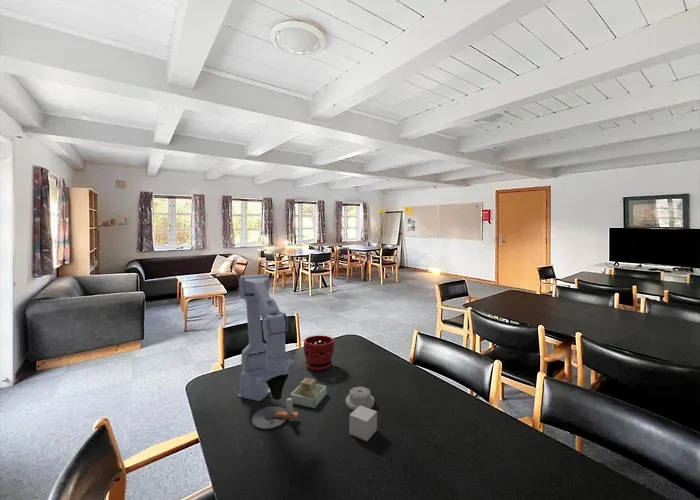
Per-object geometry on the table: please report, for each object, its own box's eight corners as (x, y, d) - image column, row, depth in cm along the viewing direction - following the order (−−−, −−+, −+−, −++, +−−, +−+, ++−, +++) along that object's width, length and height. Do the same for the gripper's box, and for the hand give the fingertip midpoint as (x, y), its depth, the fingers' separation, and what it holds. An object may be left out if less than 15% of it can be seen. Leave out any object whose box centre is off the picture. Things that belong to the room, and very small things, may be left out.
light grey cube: (349, 434, 94) (349, 414, 94) (359, 423, 99) (359, 405, 99) (366, 441, 91) (366, 421, 91) (376, 430, 96) (377, 411, 96)
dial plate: (244, 425, 99) (244, 422, 99) (265, 406, 109) (265, 403, 109) (275, 432, 95) (275, 429, 95) (294, 412, 105) (293, 409, 105)
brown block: (300, 399, 112) (300, 382, 112) (305, 393, 116) (305, 377, 116) (310, 401, 111) (310, 384, 110) (315, 395, 115) (315, 379, 114)
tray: (290, 402, 111) (289, 394, 111) (303, 389, 120) (303, 381, 120) (314, 408, 108) (314, 399, 107) (326, 393, 117) (326, 386, 116)
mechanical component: (342, 410, 107) (372, 413, 105) (342, 397, 107) (372, 400, 105) (348, 394, 117) (375, 397, 115) (348, 383, 116) (375, 385, 114)
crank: (262, 418, 100) (262, 400, 100) (266, 412, 104) (266, 394, 103) (295, 420, 99) (295, 403, 99) (299, 414, 103) (298, 396, 102)
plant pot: (333, 372, 133) (332, 345, 132) (301, 372, 134) (301, 344, 133) (335, 359, 146) (334, 334, 146) (306, 359, 147) (306, 334, 146)
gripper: (268, 366, 86) (270, 414, 87) (301, 348, 99) (302, 390, 100) (249, 361, 90) (251, 407, 91) (283, 344, 102) (284, 385, 103)
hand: (276, 398), depth 96 cm, fingers closed
